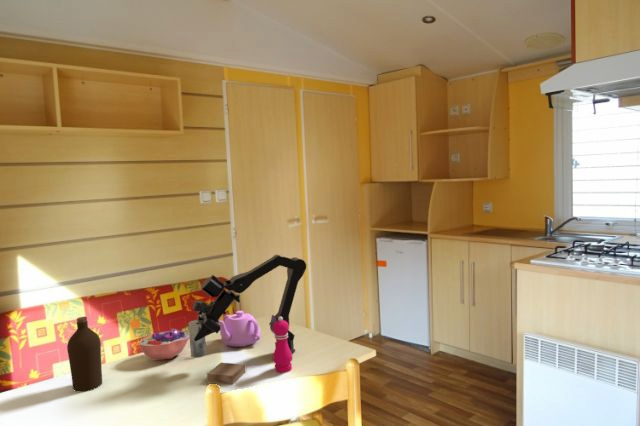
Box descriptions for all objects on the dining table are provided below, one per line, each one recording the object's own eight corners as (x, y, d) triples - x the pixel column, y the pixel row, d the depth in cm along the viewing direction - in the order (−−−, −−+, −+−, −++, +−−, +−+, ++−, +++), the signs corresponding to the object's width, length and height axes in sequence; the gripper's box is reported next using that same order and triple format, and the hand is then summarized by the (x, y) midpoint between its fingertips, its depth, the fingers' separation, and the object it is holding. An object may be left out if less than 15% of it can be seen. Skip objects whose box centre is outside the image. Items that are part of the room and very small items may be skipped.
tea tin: (209, 352, 174) (206, 320, 173) (201, 358, 168) (198, 324, 167) (196, 351, 175) (193, 319, 174) (188, 357, 170) (185, 324, 169)
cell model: (140, 354, 192) (137, 328, 192) (189, 346, 200) (187, 320, 199) (140, 369, 177) (138, 341, 176) (193, 359, 184) (191, 332, 183)
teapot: (201, 347, 197) (199, 316, 196) (237, 332, 215) (235, 303, 214) (238, 356, 184) (235, 323, 183) (273, 339, 202) (271, 309, 201)
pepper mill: (296, 366, 172) (293, 314, 170) (287, 374, 165) (284, 320, 164) (279, 364, 175) (276, 313, 173) (270, 371, 168) (266, 318, 167)
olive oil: (80, 395, 157) (74, 324, 155) (65, 388, 163) (58, 320, 161) (110, 383, 165) (104, 315, 164) (94, 377, 171) (88, 312, 170)
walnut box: (245, 372, 169) (245, 364, 169) (232, 384, 159) (232, 375, 159) (221, 370, 172) (221, 362, 172) (207, 381, 162) (207, 373, 162)
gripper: (201, 287, 180) (174, 319, 177) (209, 297, 163) (179, 333, 160) (222, 303, 184) (196, 335, 180) (232, 315, 167) (203, 350, 163)
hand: (193, 338), depth 171 cm, fingers closed on tea tin, 6 cm apart
